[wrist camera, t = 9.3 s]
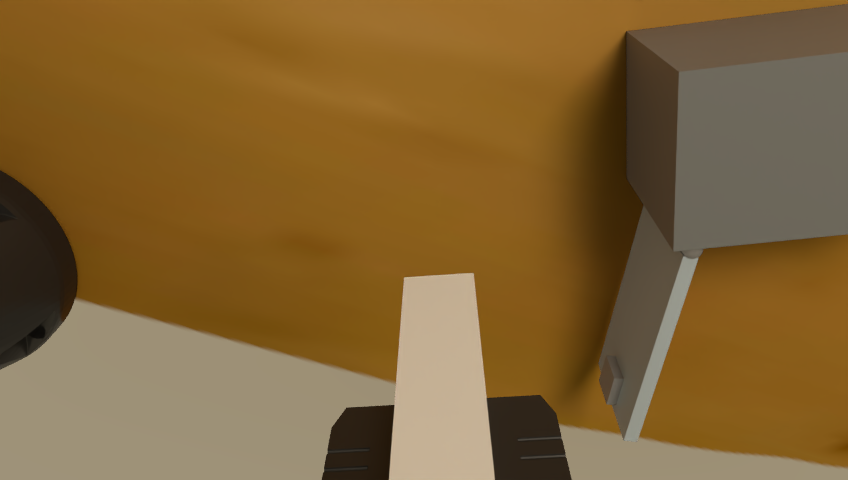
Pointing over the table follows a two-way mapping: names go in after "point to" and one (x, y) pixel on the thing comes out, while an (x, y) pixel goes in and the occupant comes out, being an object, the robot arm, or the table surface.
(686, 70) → the cam body
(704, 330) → the table surface
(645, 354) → the door
